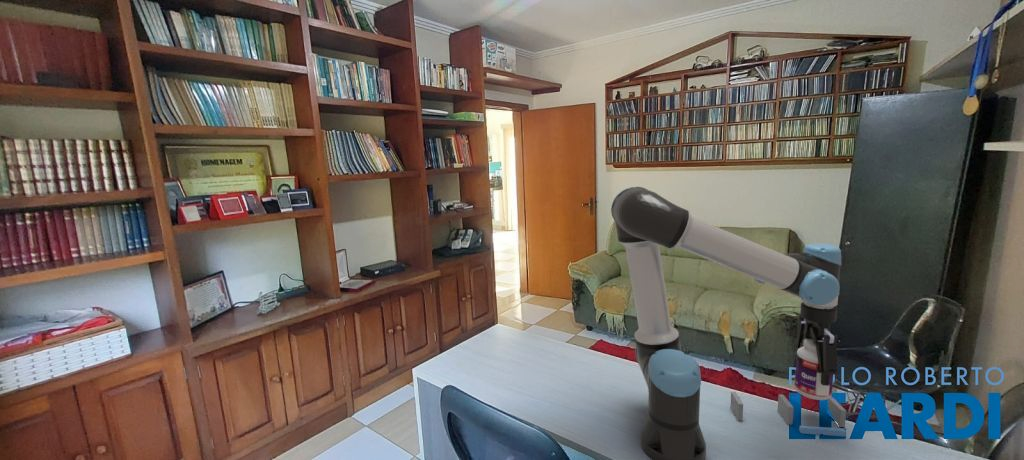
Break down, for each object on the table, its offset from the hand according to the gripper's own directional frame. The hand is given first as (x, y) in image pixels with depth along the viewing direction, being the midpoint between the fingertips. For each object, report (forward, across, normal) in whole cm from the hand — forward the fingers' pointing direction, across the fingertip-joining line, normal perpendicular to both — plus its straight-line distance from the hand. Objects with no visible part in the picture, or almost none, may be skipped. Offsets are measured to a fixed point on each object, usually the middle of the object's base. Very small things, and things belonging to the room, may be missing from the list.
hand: (812, 385), depth 109 cm
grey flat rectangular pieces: (+10, -2, +6) cm, 12 cm away
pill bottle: (+2, 0, 0) cm, 2 cm away
